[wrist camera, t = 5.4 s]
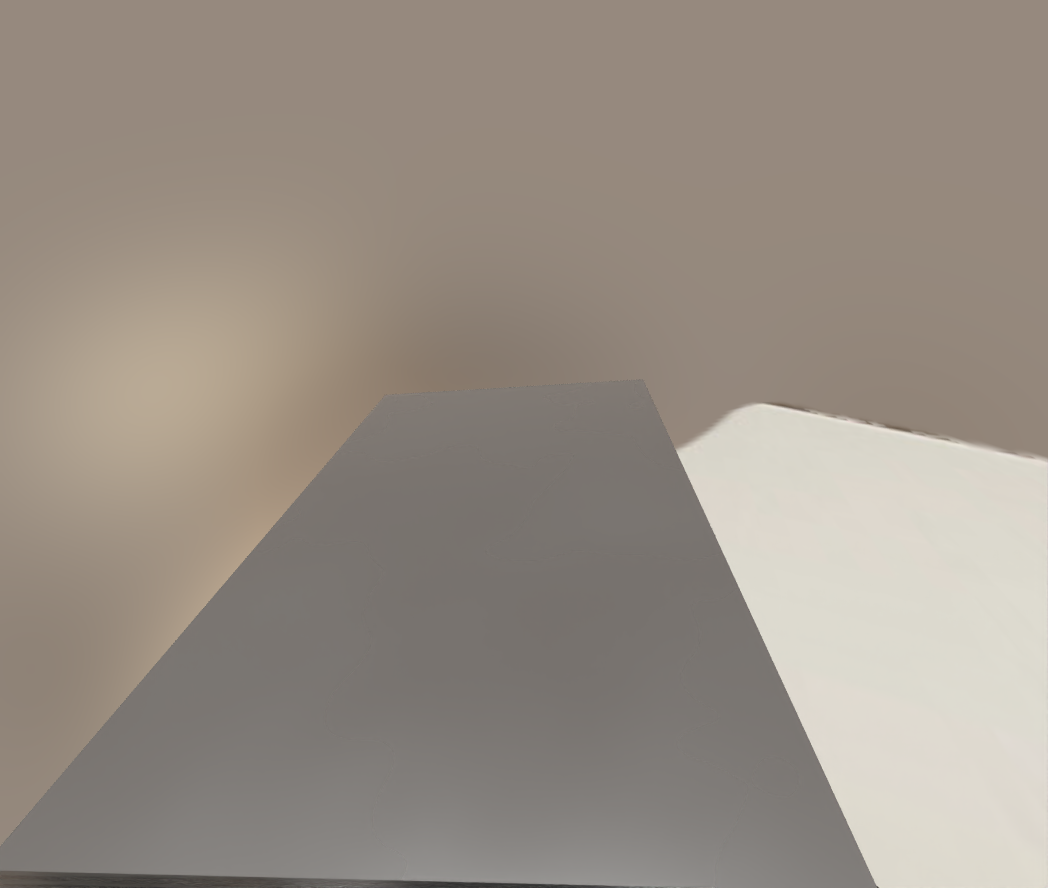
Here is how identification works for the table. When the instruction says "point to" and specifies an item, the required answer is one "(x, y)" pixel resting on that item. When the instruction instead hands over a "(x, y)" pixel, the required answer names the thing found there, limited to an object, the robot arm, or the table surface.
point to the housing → (462, 684)
